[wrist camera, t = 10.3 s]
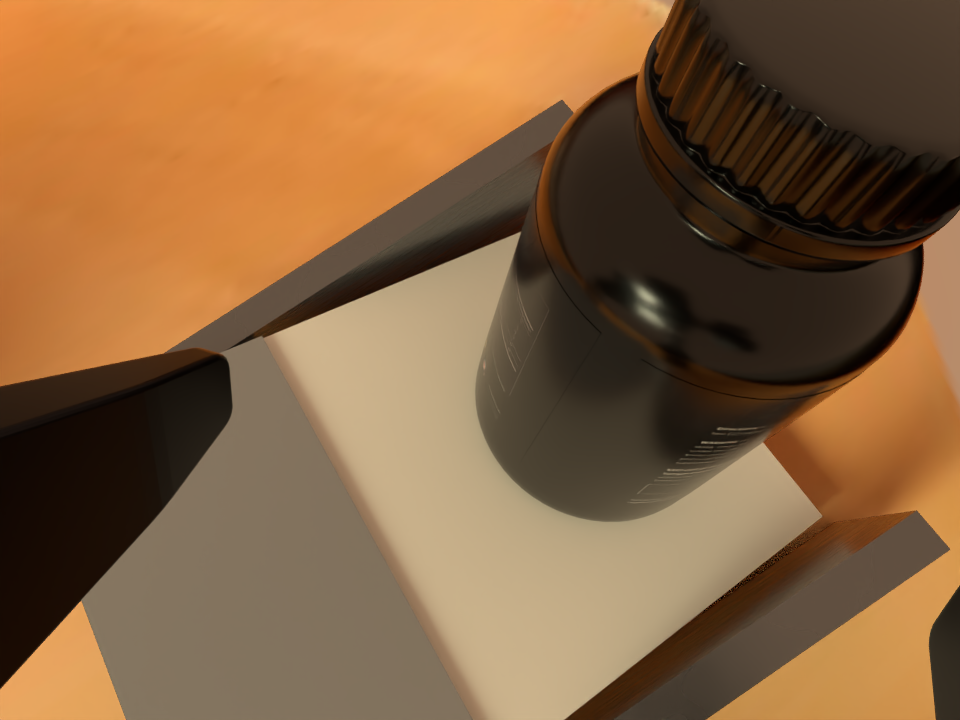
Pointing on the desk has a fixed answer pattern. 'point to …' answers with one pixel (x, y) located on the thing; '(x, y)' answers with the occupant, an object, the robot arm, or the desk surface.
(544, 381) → the supplement bottle
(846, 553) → the flap frame
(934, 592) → the desk surface
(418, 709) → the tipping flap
